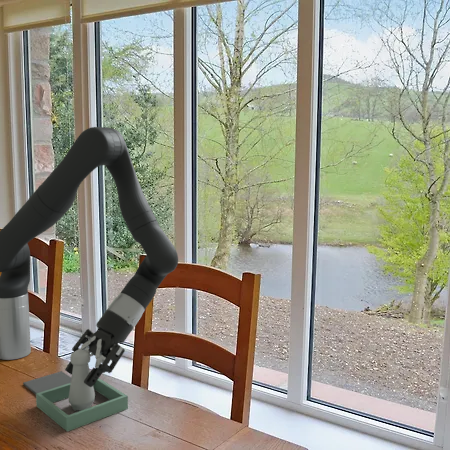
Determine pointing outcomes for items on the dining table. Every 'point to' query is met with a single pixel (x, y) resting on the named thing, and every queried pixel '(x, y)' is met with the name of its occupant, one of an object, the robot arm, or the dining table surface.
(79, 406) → the salt shaker
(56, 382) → the rubber mat
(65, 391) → the square frame
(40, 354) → the dining table surface
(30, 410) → the dining table surface
